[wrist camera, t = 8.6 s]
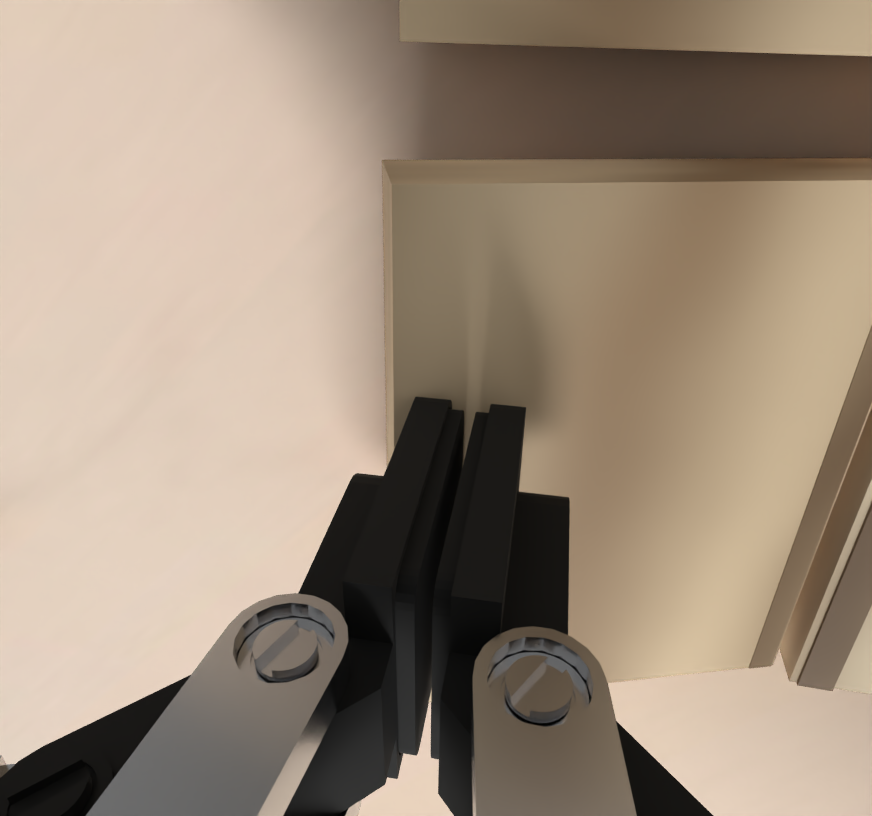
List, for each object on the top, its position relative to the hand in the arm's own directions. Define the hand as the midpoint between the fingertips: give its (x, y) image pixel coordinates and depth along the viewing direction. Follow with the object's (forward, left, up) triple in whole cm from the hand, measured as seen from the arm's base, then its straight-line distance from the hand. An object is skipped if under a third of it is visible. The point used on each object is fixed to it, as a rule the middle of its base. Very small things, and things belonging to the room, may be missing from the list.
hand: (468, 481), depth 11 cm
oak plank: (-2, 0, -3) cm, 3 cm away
